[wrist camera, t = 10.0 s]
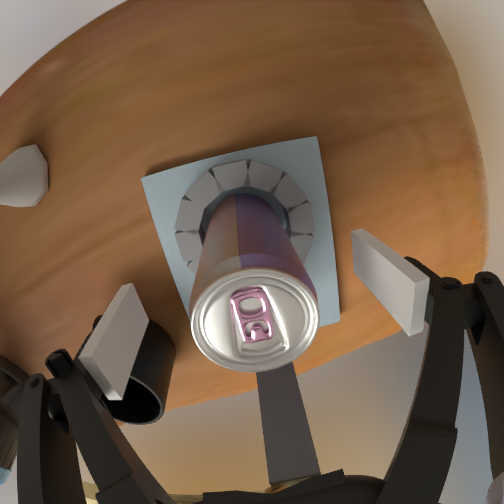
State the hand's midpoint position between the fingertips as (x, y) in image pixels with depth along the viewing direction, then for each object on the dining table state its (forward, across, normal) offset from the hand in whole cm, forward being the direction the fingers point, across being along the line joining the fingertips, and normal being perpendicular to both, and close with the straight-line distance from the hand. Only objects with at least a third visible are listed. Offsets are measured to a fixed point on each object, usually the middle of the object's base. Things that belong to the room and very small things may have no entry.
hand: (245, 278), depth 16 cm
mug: (+12, -15, -10) cm, 22 cm away
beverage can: (+11, 0, 0) cm, 11 cm away
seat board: (+12, +1, -3) cm, 12 cm away
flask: (+12, -21, +12) cm, 27 cm away
